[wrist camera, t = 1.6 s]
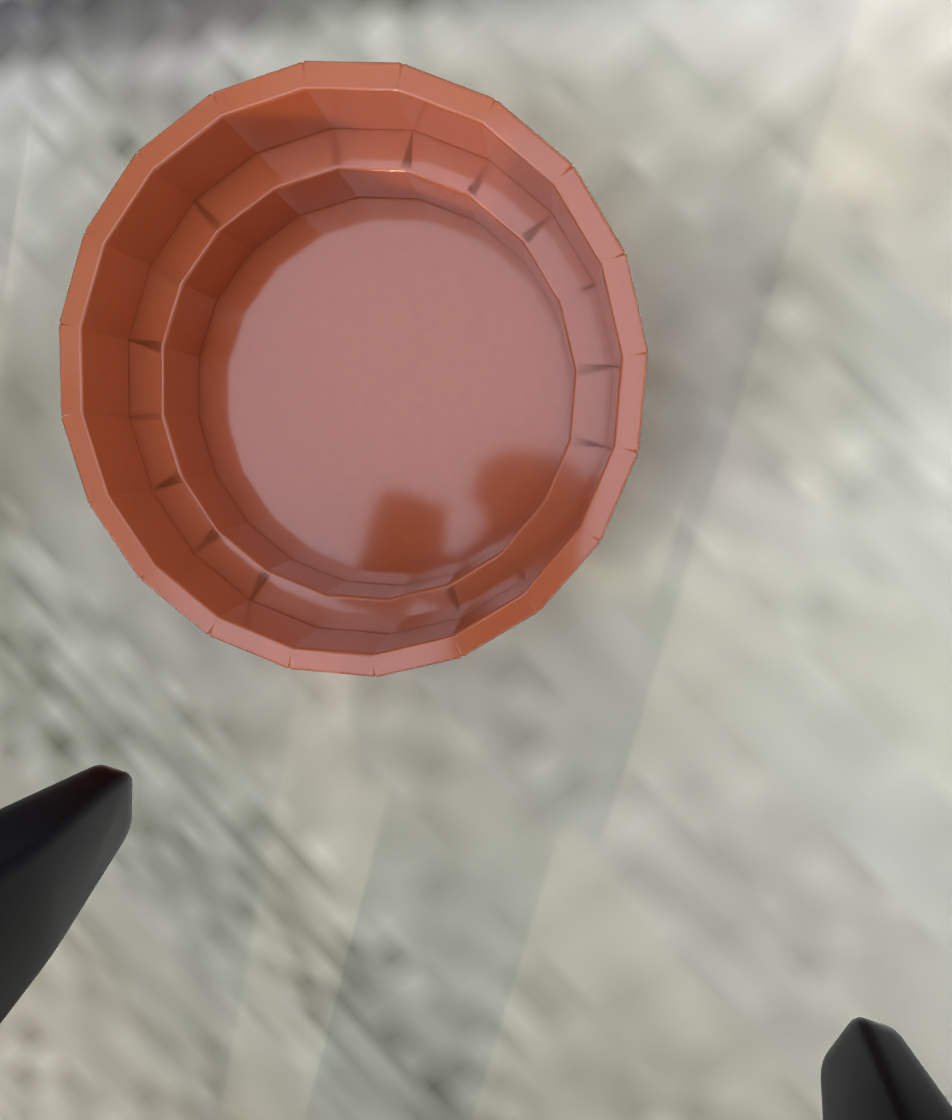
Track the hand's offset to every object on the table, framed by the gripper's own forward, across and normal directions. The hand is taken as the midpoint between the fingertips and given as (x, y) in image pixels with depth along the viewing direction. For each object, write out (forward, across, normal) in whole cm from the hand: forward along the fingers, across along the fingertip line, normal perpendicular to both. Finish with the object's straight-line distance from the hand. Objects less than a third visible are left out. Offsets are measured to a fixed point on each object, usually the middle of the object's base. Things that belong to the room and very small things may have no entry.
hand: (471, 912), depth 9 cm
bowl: (+15, +6, -1) cm, 17 cm away
